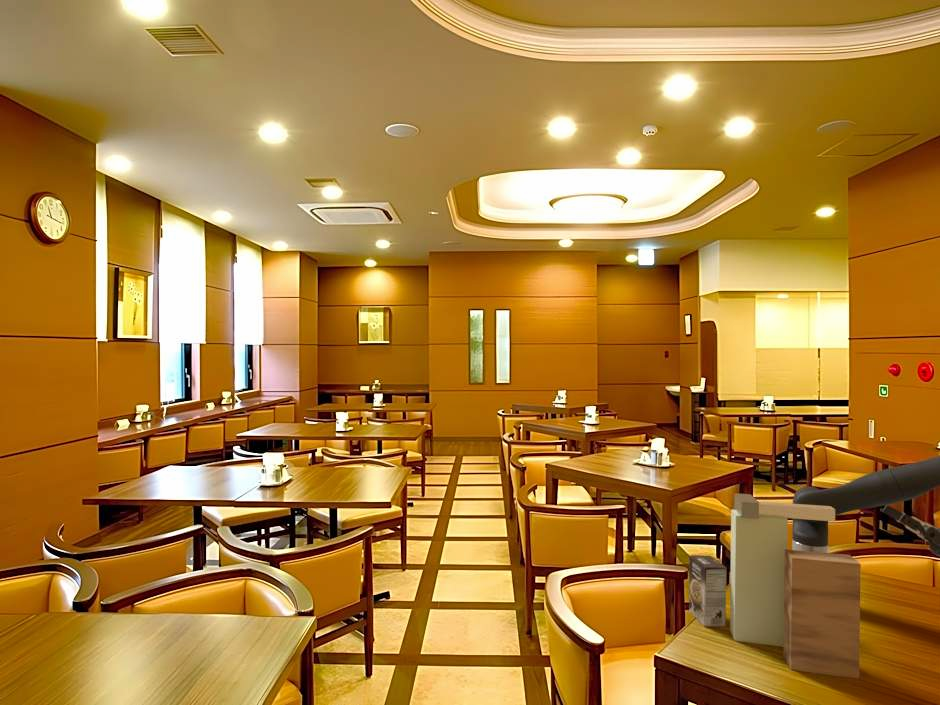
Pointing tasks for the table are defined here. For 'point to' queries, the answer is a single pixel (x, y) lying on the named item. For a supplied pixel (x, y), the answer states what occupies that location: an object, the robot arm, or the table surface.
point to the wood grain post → (822, 613)
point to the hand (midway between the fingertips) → (892, 512)
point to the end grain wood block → (780, 509)
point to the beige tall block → (757, 579)
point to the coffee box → (707, 590)
